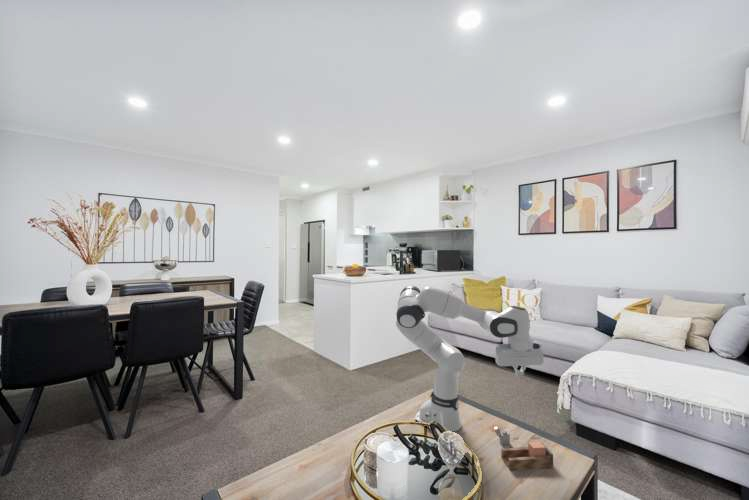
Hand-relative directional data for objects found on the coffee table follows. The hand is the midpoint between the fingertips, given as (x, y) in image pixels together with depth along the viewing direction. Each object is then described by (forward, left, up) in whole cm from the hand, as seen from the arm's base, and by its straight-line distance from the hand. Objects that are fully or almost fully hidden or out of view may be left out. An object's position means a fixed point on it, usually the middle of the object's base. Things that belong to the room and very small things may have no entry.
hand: (519, 374), depth 134 cm
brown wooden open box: (+5, -13, -29) cm, 32 cm away
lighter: (-6, -7, -29) cm, 31 cm away
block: (+8, -11, -28) cm, 31 cm away
